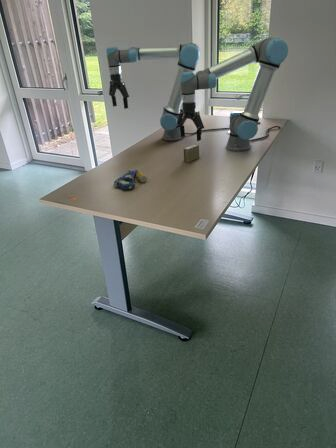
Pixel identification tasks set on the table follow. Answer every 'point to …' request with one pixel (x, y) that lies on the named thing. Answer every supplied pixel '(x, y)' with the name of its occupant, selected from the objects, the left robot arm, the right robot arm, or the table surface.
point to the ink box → (191, 153)
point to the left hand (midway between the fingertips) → (120, 107)
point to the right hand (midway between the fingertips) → (190, 138)
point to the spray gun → (129, 179)
